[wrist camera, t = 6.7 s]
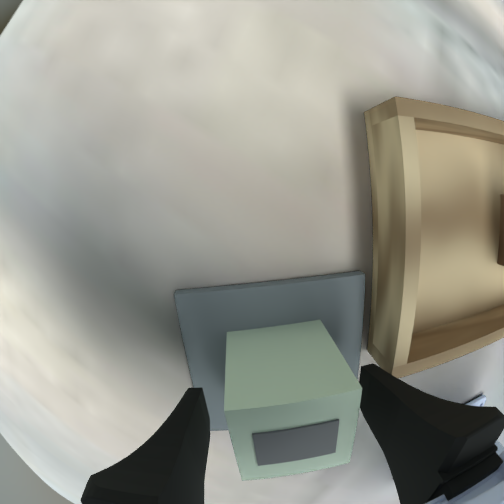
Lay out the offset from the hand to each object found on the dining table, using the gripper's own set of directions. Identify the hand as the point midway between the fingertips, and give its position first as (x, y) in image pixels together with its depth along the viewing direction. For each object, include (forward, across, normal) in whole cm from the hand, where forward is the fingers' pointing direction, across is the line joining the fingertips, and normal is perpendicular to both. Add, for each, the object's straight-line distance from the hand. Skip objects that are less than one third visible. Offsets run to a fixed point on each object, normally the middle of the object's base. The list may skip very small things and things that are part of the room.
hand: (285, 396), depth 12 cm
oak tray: (+3, -14, -6) cm, 15 cm away
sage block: (+2, 0, 0) cm, 2 cm away
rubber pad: (+3, 0, 0) cm, 3 cm away
